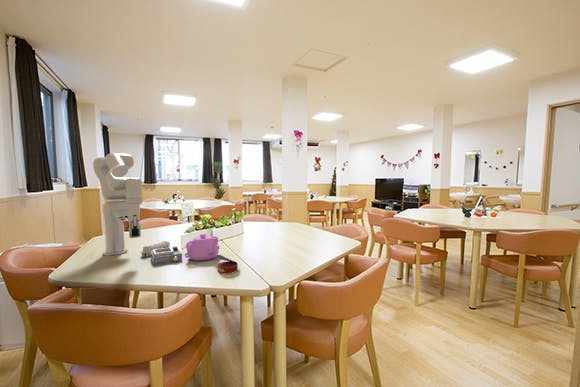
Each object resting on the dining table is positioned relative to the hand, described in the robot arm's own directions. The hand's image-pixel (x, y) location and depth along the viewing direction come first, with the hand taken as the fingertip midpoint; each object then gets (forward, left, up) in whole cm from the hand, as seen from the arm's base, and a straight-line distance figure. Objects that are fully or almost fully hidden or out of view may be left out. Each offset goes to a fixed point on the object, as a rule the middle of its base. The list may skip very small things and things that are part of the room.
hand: (135, 234), depth 136 cm
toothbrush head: (-20, +12, -16) cm, 28 cm away
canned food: (+37, +37, -16) cm, 55 cm away
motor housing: (+3, +15, -15) cm, 21 cm away
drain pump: (0, 0, -1) cm, 1 cm away
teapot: (+12, +33, -16) cm, 39 cm away
